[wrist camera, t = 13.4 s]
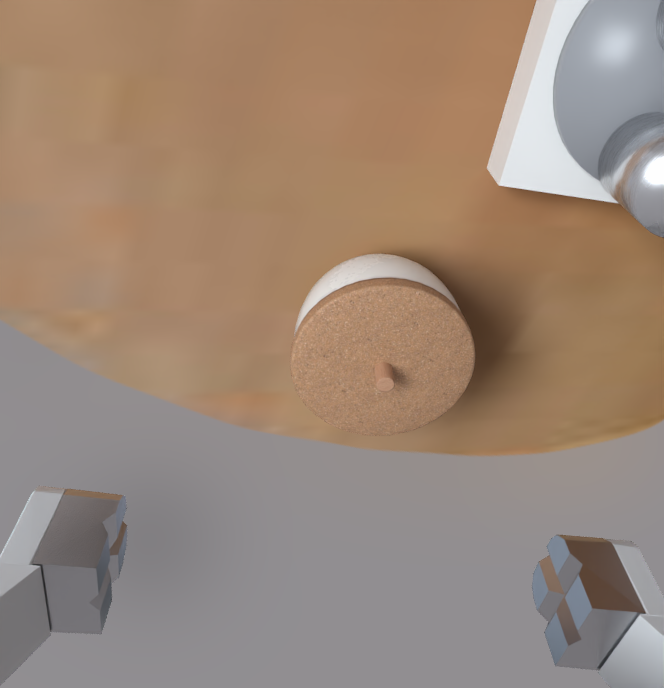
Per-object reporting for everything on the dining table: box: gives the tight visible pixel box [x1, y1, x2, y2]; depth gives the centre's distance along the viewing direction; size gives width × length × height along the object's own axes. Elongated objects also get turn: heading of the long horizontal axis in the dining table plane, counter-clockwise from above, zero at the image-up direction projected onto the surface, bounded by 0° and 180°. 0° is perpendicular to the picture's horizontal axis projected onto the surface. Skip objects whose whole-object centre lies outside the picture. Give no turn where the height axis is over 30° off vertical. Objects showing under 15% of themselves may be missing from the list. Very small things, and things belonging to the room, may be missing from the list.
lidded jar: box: [290, 254, 476, 436], centre depth 39 cm, size 11×11×9 cm
